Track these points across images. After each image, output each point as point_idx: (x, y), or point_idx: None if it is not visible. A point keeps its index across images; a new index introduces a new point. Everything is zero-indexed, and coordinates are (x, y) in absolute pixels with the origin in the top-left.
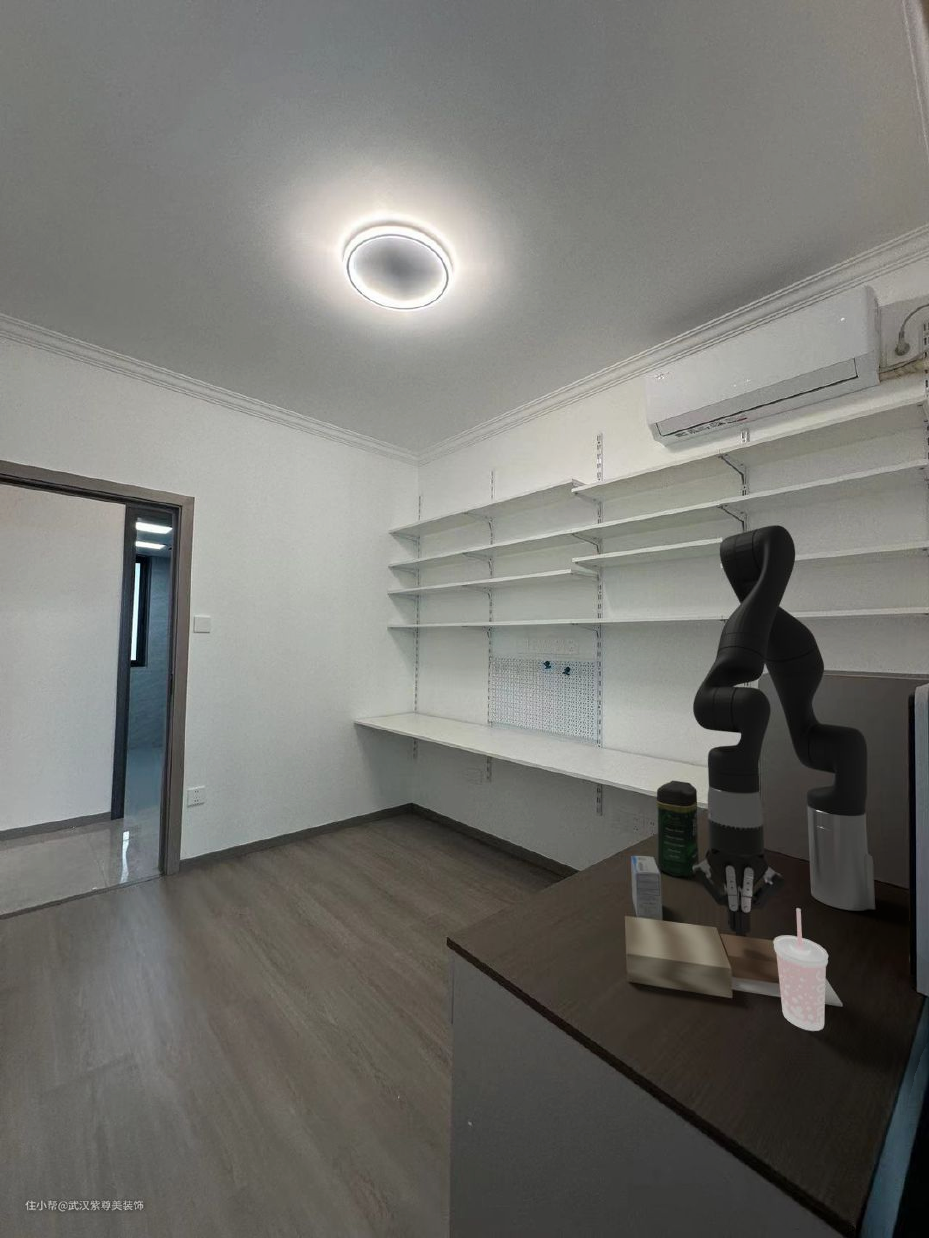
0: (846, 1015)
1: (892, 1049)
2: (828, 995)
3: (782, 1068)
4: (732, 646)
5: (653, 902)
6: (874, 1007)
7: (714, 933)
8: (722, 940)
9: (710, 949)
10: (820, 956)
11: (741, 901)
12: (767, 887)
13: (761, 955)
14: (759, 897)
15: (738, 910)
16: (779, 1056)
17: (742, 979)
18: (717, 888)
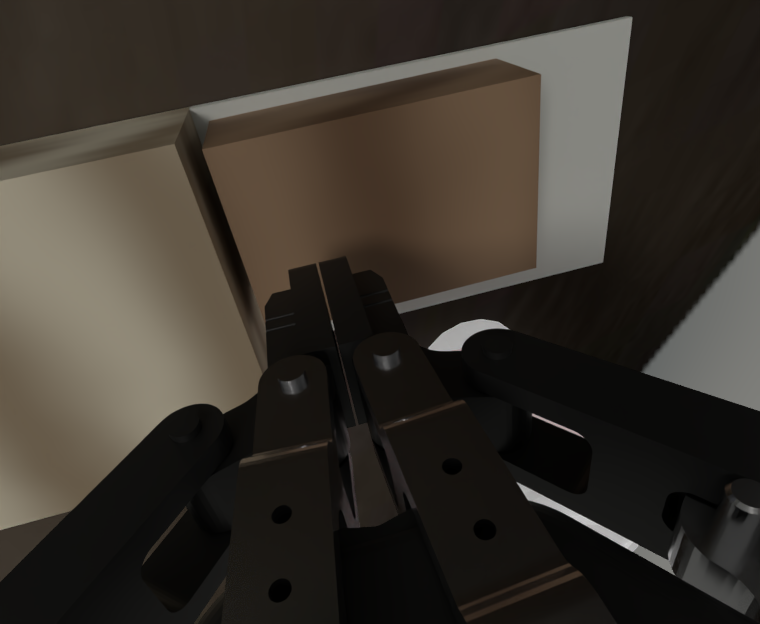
0: (589, 293)
1: (632, 365)
2: (580, 234)
3: (390, 516)
4: None
5: None
6: (690, 215)
7: (180, 226)
8: (226, 215)
9: (193, 376)
10: (621, 538)
11: (384, 477)
12: (644, 532)
13: (407, 267)
14: (528, 485)
15: (347, 410)
16: (389, 495)
17: None
18: (187, 496)
